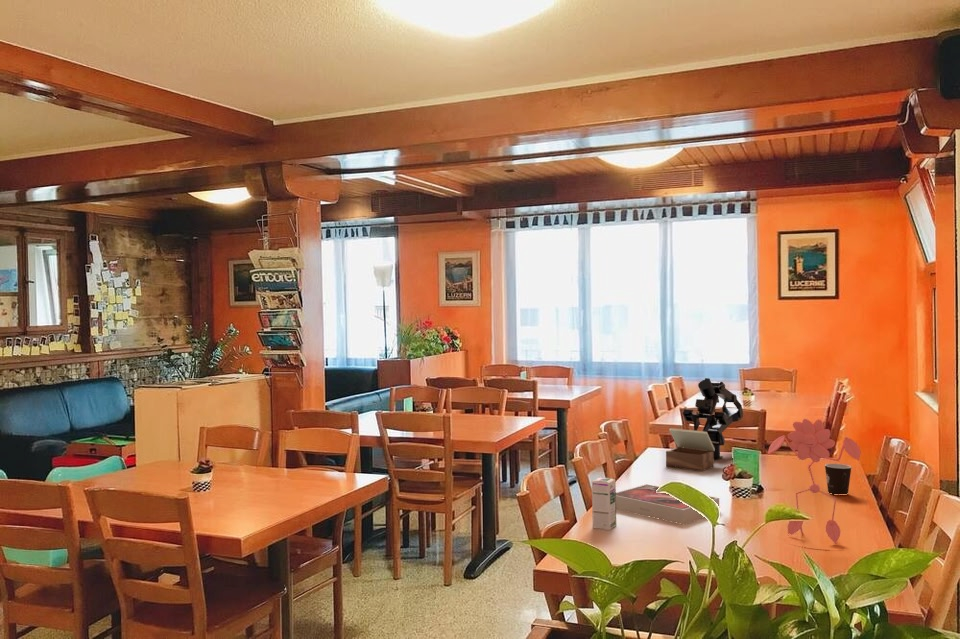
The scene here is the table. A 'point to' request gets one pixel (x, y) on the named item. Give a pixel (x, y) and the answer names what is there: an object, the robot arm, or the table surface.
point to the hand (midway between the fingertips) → (699, 431)
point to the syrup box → (604, 503)
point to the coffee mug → (838, 478)
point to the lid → (692, 439)
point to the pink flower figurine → (814, 460)
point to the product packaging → (656, 504)
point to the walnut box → (690, 459)
